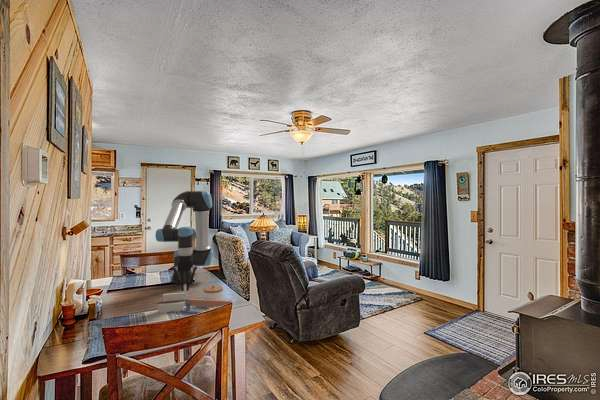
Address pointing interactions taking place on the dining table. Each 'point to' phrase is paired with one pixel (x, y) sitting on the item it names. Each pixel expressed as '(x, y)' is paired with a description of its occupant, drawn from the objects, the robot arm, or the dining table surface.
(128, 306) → the dining table surface
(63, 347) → the dining table surface
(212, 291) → the lidded jar
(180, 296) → the socket channel
